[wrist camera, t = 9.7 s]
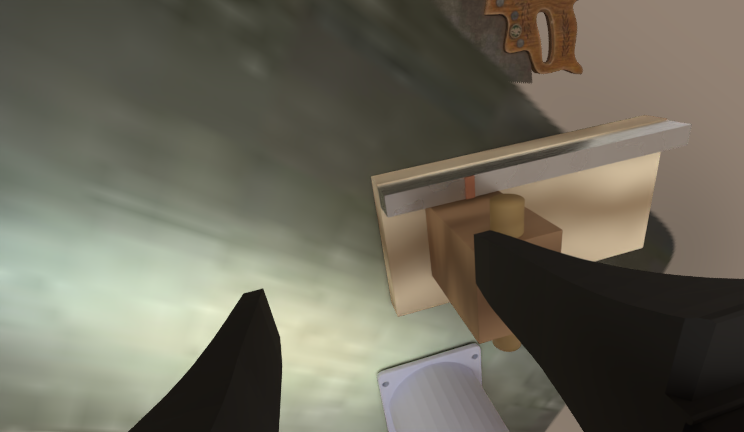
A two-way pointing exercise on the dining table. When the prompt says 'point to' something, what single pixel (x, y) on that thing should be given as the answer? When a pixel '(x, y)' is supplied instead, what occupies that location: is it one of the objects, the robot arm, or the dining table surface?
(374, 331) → the dining table surface
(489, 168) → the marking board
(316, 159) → the dining table surface
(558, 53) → the hand saw
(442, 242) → the brown knobbed block
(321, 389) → the dining table surface
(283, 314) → the dining table surface
